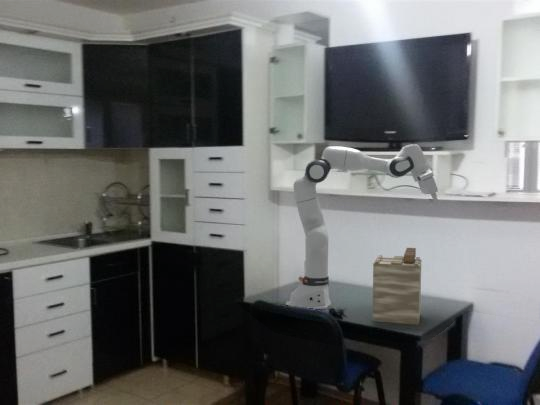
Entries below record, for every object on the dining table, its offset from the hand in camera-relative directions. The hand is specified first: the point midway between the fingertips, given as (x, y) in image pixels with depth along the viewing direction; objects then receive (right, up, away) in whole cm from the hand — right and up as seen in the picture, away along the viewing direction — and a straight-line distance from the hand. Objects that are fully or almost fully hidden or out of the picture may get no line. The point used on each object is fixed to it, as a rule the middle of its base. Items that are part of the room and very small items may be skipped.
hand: (433, 201), depth 269 cm
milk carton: (-55, -49, +40) cm, 84 cm away
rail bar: (-14, -27, -11) cm, 32 cm away
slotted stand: (-21, -53, -13) cm, 59 cm away
